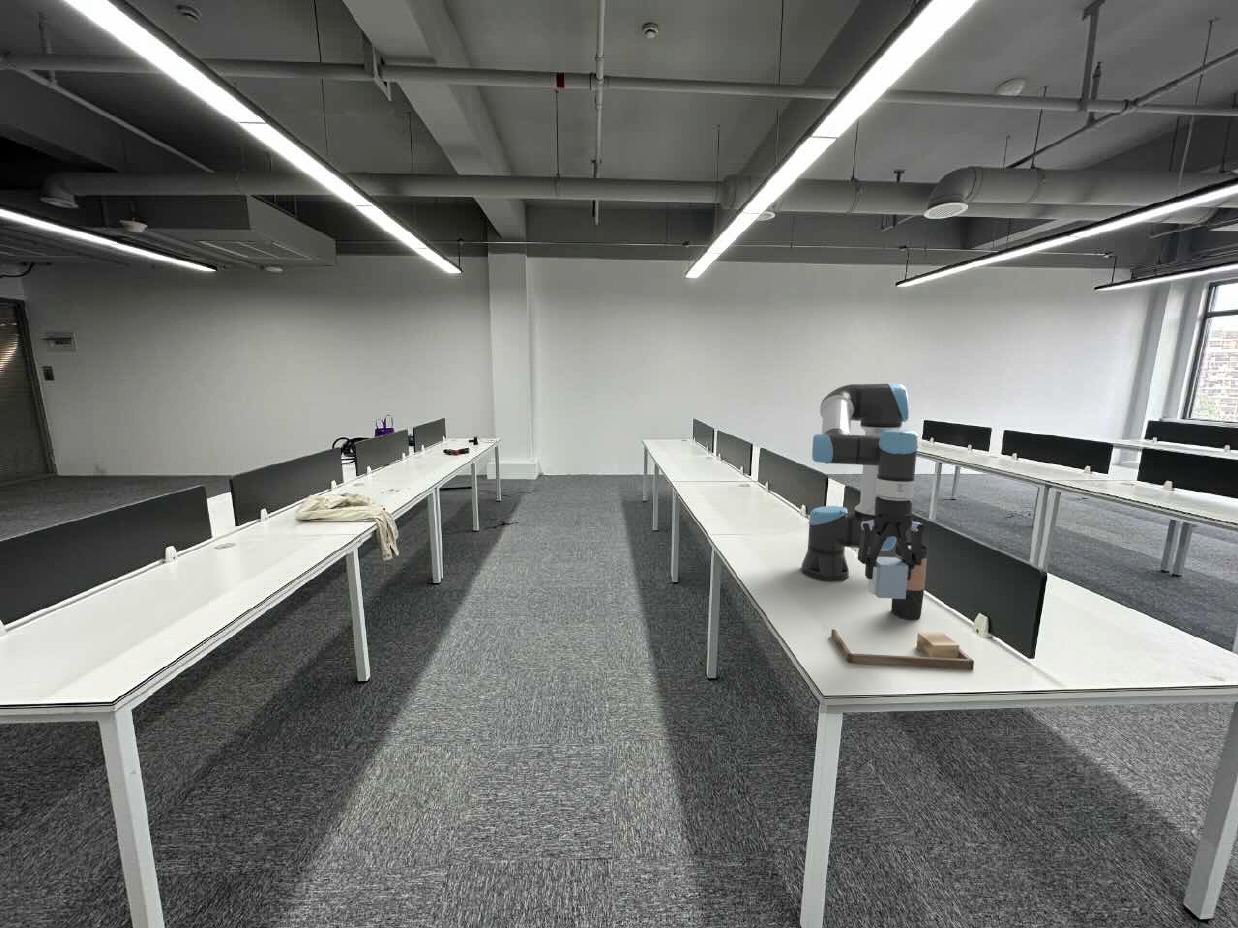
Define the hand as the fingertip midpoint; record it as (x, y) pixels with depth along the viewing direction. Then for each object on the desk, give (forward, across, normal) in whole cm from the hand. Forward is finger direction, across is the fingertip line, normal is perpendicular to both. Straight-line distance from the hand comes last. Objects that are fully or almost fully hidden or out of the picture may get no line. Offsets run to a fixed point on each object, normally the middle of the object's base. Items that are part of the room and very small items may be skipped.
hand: (886, 591), depth 115 cm
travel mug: (+15, +15, +21) cm, 30 cm away
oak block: (+15, +13, 0) cm, 20 cm away
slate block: (0, 0, 0) cm, 0 cm away
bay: (+15, +4, 0) cm, 15 cm away
